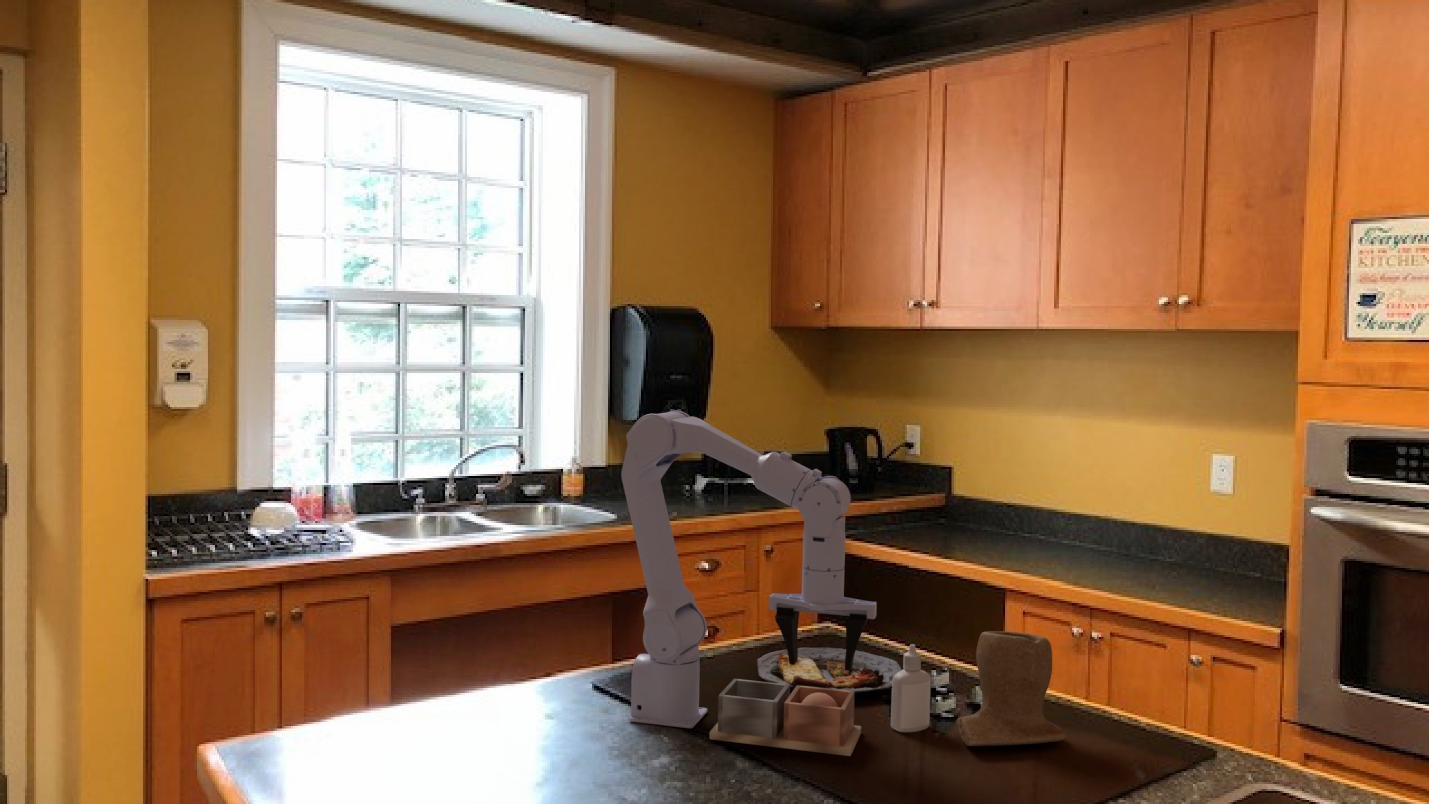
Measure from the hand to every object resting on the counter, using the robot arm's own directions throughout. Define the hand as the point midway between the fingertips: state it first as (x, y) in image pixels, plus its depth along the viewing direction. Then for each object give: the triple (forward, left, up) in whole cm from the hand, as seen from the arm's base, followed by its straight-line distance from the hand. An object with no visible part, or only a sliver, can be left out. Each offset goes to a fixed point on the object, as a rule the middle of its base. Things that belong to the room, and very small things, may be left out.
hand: (820, 665), depth 157 cm
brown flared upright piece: (+24, +9, -11) cm, 28 cm away
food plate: (-4, +28, -11) cm, 30 cm away
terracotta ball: (0, 0, -7) cm, 7 cm away
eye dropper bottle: (+11, +9, -11) cm, 18 cm away
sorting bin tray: (-5, 0, -10) cm, 11 cm away
